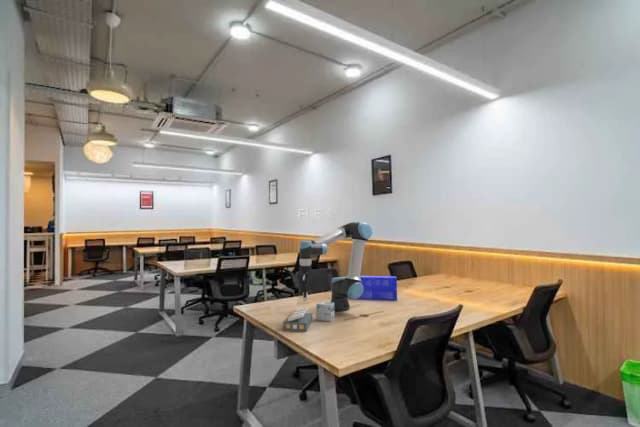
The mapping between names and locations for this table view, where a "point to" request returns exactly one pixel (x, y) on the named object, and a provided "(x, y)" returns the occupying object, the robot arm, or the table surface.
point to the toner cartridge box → (379, 287)
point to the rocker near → (295, 316)
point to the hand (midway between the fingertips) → (305, 302)
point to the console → (298, 323)
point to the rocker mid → (298, 312)
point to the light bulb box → (325, 311)
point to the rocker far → (301, 309)
